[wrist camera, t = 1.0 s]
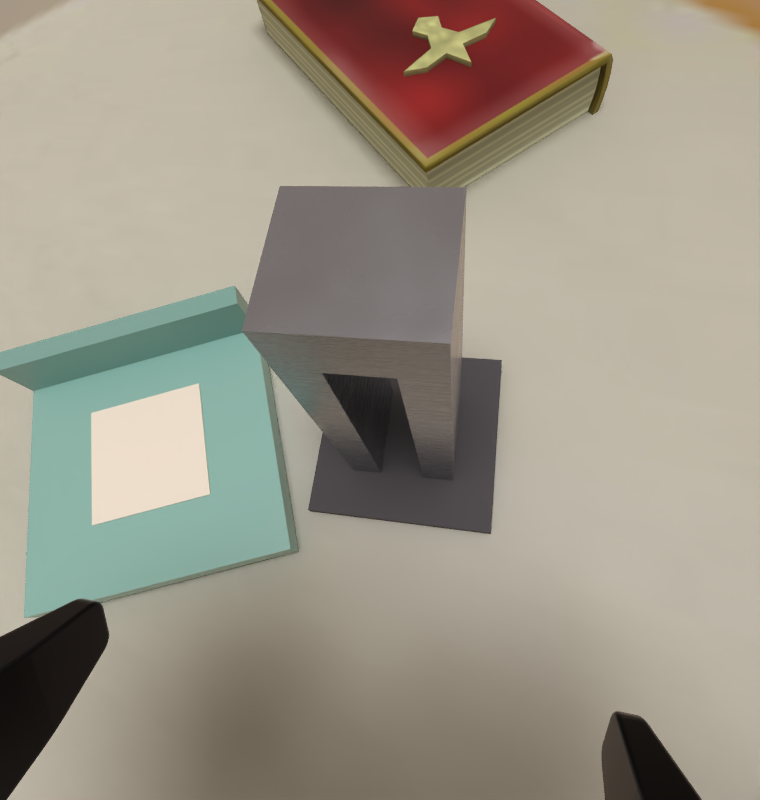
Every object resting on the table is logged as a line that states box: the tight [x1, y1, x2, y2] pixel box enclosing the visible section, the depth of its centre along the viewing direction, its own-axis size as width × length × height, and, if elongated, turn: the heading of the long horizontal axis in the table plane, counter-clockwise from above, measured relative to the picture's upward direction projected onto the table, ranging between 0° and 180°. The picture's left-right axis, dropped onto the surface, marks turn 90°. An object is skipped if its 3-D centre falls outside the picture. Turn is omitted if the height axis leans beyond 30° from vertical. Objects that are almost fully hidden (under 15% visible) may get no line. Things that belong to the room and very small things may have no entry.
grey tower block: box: [242, 186, 466, 481], centre depth 17 cm, size 4×4×13 cm
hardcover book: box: [257, 0, 613, 187], centre depth 31 cm, size 12×21×4 cm, turn 33°
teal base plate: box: [0, 286, 298, 618], centre depth 23 cm, size 12×12×4 cm
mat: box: [308, 358, 502, 534], centre depth 23 cm, size 8×8×1 cm
